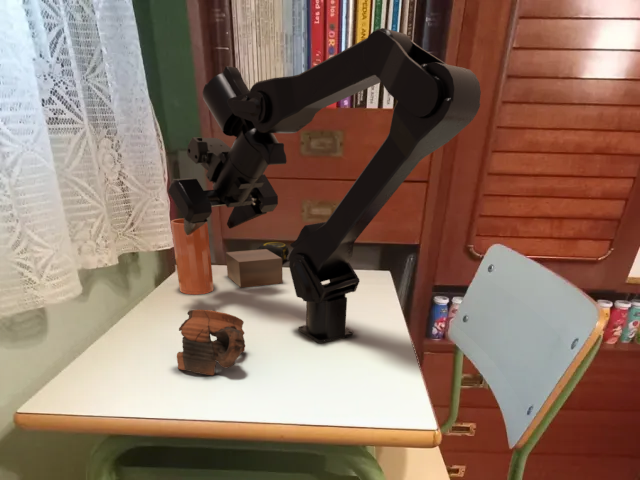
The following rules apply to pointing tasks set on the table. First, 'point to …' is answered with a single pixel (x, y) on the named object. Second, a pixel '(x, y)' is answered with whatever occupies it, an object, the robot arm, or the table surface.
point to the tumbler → (192, 258)
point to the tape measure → (276, 249)
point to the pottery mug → (198, 342)
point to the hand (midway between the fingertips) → (208, 229)
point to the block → (254, 268)
